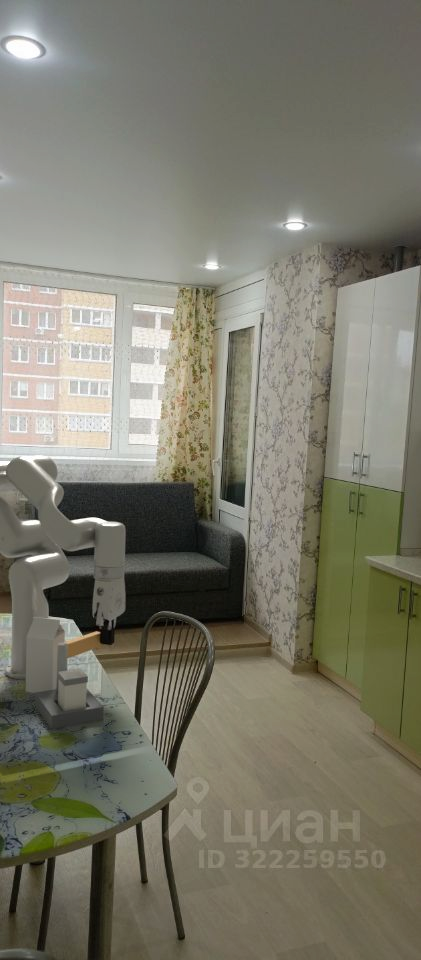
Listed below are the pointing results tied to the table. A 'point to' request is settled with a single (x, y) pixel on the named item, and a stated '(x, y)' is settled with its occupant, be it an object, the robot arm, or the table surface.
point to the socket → (57, 718)
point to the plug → (72, 689)
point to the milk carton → (43, 654)
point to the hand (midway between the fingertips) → (107, 643)
